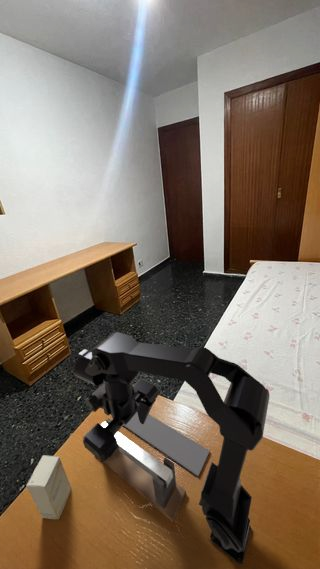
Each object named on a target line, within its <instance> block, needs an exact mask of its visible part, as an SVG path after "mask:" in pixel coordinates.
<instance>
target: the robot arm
mask: <svg viewBox="0 0 320 569" xmlns="http://www.w3.org/2000/svg"><path fill="white" fill-rule="evenodd" d="M77 356H78V358H77V360H76V362H75V363H74V364H75V365H74V367H73V368H74V369H73V373H74V376H75V377H77V378H78V379H81V380H83V381H85V382H87V383H90V384H92V385H94V386H96V387H98V388H97V389H95V390H94V391H93V392H92V393H91V394H89V396H87V397H86V398H85V405H86V407H87V409H88V410H89V411H91V412H93V413H95V412H97V411H98V410H99V409H103V411H104V414H105V415H107V417H108V416H110V415H111V420H112V421H111V422H110V423H109V424H108V425H107V426H106V427H105V428H104V427H103V426H102V424H101V423H99V422H97V423H96V424H94V426H92V428H91V429H89V431H88V432H87V433H86V434H85V435H84V436H83V437H82V443H83V445H84V448H85V449H86V450H88V451H89V452H90V453H91V454H92V455H93V456H95V458H96V459H98V460H99V461H100V462H103V461H105V460H106V459H107V458H109V457H111V456H112V455H114V456H115V457H116V458H118V456H119V445H118V444H117V439H116V438H115V436H114V435H115V434H116V433H117V432H119V431H120V430H121V429H122V428H123V427H124V426H123V425H124V424H125V425H126V424H127V423H128V422H129V421H130V420H131V418H132V417H133V416H134V415H135V414H136V412H137V413H138V418H139V421H140V423H141V424H144V423H145V421H146V418H147V416H148V414H149V413H150V412H151V410H152V408H153V405H154V404H155V402H156V401H157V400H156V399H157V398H158V396H160V395H159V394H160V393H159V388H158V386H157V384H155V383H152V382H151V381H148V380H147V379H144V378H142V377H141V378H139V379H138V380H137V381H136V382H135V383H133V381H134V380H135V378H136V377H137V376H138V375H139V374H140V373H143V374H147V375H148V374H149V375H154V376H158V377H164V378H168V379H174V380H179V381H183V382H185V383H186V384H188V386H190V387H191V388H192V389H193V390H194V391H195V392H196V395H197V397H198V399H199V401H200V403H201V404H202V407H203V409H204V410H205V412H206V414H207V415H208V417H209V418H210V419H211V420H212V421H213V422H215V423H216V424H217V425H218V427H219V433H220V435H221V436H222V437H223V441H222V446H221V451H220V455H219V460H218V464H215V463H214V462H213V461H211V462H210V465H209V468H208V471H207V474H206V477H205V480H204V483H203V486H202V490H201V491H200V492H201V494H200V500H199V503H198V505H199V506H200V507H201V511H202V513H203V515H204V516H205V521H206V522H207V524H208V527H209V528H210V530H211V532H210V535H209V539H210V541H211V543H213V544H214V545H215V546H216V547H217V548H219V549H220V550H221V551H223V552H224V553H225V554H226V555H228V556H229V557H230V558H231V559H233V560H234V561H235V562H236V563H237V564H239V565H240V566H242V565H243V563H244V562H243V561H244V558H245V554H246V550H247V545H248V541H249V537H250V533H251V518H249V516H250V509H251V505H252V498H253V497H252V496H251V495H250V493H249V492H248V491H247V490H246V489H245V487H244V486H243V484H241V482H242V480H241V474H242V471H243V468H244V464H245V460H246V456H247V454H248V451H254V450H255V449H256V447H257V446H258V444H260V442H261V441H262V439H263V437H264V431H265V427H266V426H265V424H266V419H267V414H268V408H269V401H270V392H269V390H268V388H266V387H265V385H264V384H262V383H261V382H260V381H258V380H257V379H256V378H254V376H252V375H251V374H250V373H249V372H247V370H245V369H243V367H242V366H240V365H239V364H238V363H235V362H233V361H230V360H227V359H223V358H221V357H218V356H217V355H216V354H215V353H213V352H212V351H211V350H210V349H208V348H207V347H204V346H197V347H196V348H195V347H194V348H190V347H183V346H172V345H164V344H155V343H146V342H139V341H136V340H135V339H134V337H133V336H132V335H130V334H126V333H123V332H119V331H115V332H113V333H111V334H110V335H108V337H106V338H105V339H103V340H102V341H101V342H100V343H98V345H96V346H95V347H94V348H92V349H91V351H90V350H88V349H86V348H84V349H83V350H82V351H80V352H79V353H78V354H77ZM211 374H213V375H215V376H216V375H217V376H220V377H223V378H225V379H226V380H227V381H228V382H229V383H230V384H229V387H228V390H227V392H226V395H225V397H224V400H223V399H222V397H221V394H220V393H219V391H218V389H217V387H216V385H215V384H214V383H213V380H212V379H211V377H210V375H211ZM99 385H100V386H99ZM149 415H150V414H149ZM212 537H213V538H212Z"/></svg>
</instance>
